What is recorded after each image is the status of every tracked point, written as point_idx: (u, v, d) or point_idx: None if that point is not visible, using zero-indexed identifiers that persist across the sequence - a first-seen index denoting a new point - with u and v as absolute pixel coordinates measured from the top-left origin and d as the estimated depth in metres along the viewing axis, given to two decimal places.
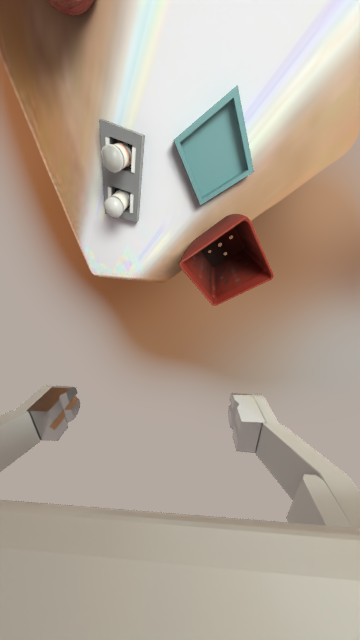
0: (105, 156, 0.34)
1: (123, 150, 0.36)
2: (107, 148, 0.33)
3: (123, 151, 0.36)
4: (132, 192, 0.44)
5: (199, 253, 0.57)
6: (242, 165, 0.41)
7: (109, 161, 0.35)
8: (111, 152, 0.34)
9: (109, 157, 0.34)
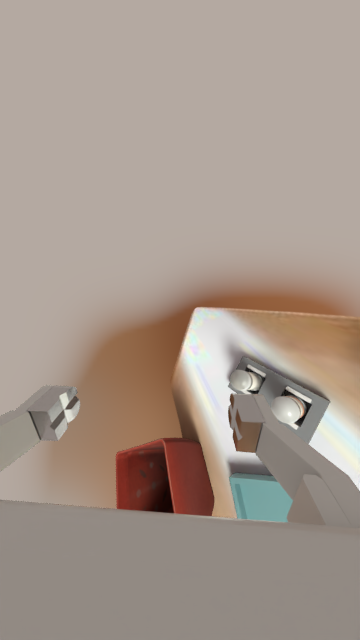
0: (288, 403, 0.29)
1: None
2: (294, 411, 0.28)
3: None
4: None
5: None
6: None
7: (282, 405, 0.30)
8: (290, 413, 0.28)
9: (286, 408, 0.29)
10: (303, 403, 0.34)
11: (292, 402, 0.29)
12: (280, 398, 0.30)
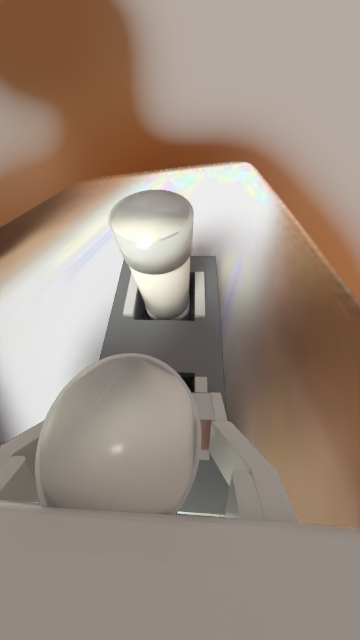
0: (167, 439, 0.04)
1: None
2: (140, 505, 0.04)
3: None
4: (127, 320, 0.14)
5: None
6: None
7: (140, 412, 0.05)
8: (111, 485, 0.04)
9: (134, 439, 0.04)
10: None
11: (189, 461, 0.04)
12: (172, 384, 0.05)
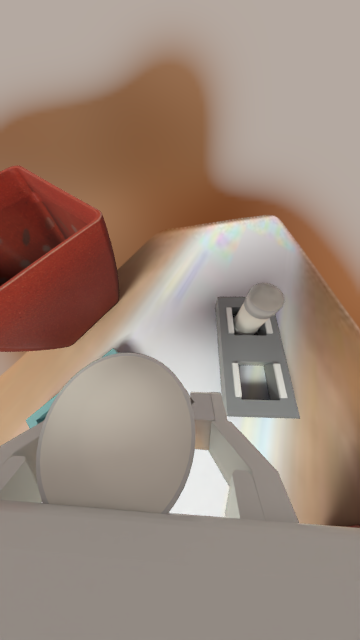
0: (161, 437, 0.04)
1: None
2: (134, 501, 0.04)
3: None
4: (231, 336, 0.26)
5: None
6: None
7: (135, 411, 0.05)
8: (106, 481, 0.04)
9: (129, 437, 0.04)
10: None
11: (183, 459, 0.04)
12: (167, 383, 0.05)
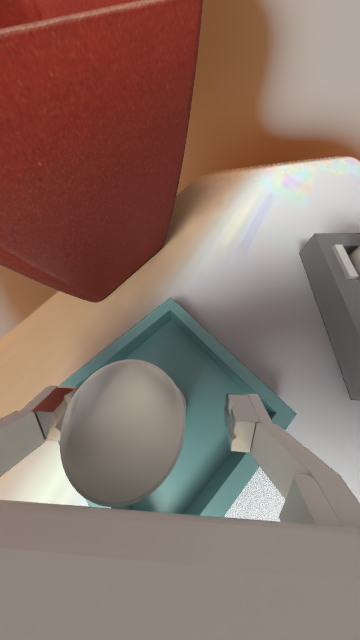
0: (158, 426, 0.06)
1: None
2: (138, 474, 0.05)
3: None
4: (351, 281, 0.17)
5: None
6: None
7: (138, 406, 0.06)
8: (116, 460, 0.05)
9: (133, 426, 0.06)
10: None
11: (175, 443, 0.05)
12: (164, 384, 0.06)
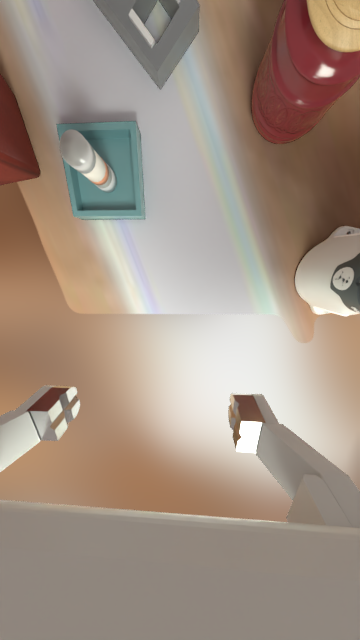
0: (79, 141, 0.24)
1: (91, 178, 0.28)
2: (84, 152, 0.24)
3: (91, 178, 0.28)
4: None
5: None
6: (87, 209, 0.35)
7: (72, 142, 0.24)
8: (79, 155, 0.24)
9: (76, 147, 0.24)
10: (112, 173, 0.31)
11: (84, 140, 0.24)
12: (71, 132, 0.23)
